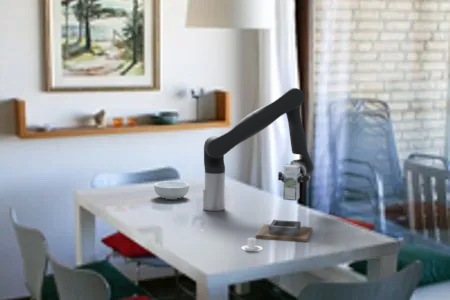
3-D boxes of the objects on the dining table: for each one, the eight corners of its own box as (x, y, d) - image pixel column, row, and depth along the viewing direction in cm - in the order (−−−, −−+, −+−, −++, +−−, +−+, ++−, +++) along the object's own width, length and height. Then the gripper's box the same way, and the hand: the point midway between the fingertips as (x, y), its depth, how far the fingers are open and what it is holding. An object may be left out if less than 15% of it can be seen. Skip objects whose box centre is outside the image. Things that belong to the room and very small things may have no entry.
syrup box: (299, 198, 306) (300, 164, 304) (296, 201, 300) (297, 166, 298) (286, 197, 308) (287, 163, 305) (282, 199, 302) (283, 165, 300)
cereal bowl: (150, 201, 348) (150, 186, 347) (159, 194, 364) (159, 180, 363) (184, 202, 345) (184, 188, 344) (192, 195, 362) (192, 181, 361)
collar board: (255, 238, 284) (256, 227, 283) (264, 227, 301) (264, 217, 301) (306, 241, 279) (307, 231, 279) (312, 230, 297) (312, 220, 296)
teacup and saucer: (251, 254, 263) (252, 243, 263) (235, 249, 269) (235, 239, 268) (267, 249, 270) (267, 238, 269) (250, 245, 275) (250, 234, 275)
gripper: (280, 163, 317) (274, 170, 301) (313, 165, 314) (308, 172, 298) (279, 180, 319) (273, 187, 302) (312, 182, 315) (307, 190, 299)
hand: (290, 180), depth 300 cm, fingers closed on syrup box, 6 cm apart
